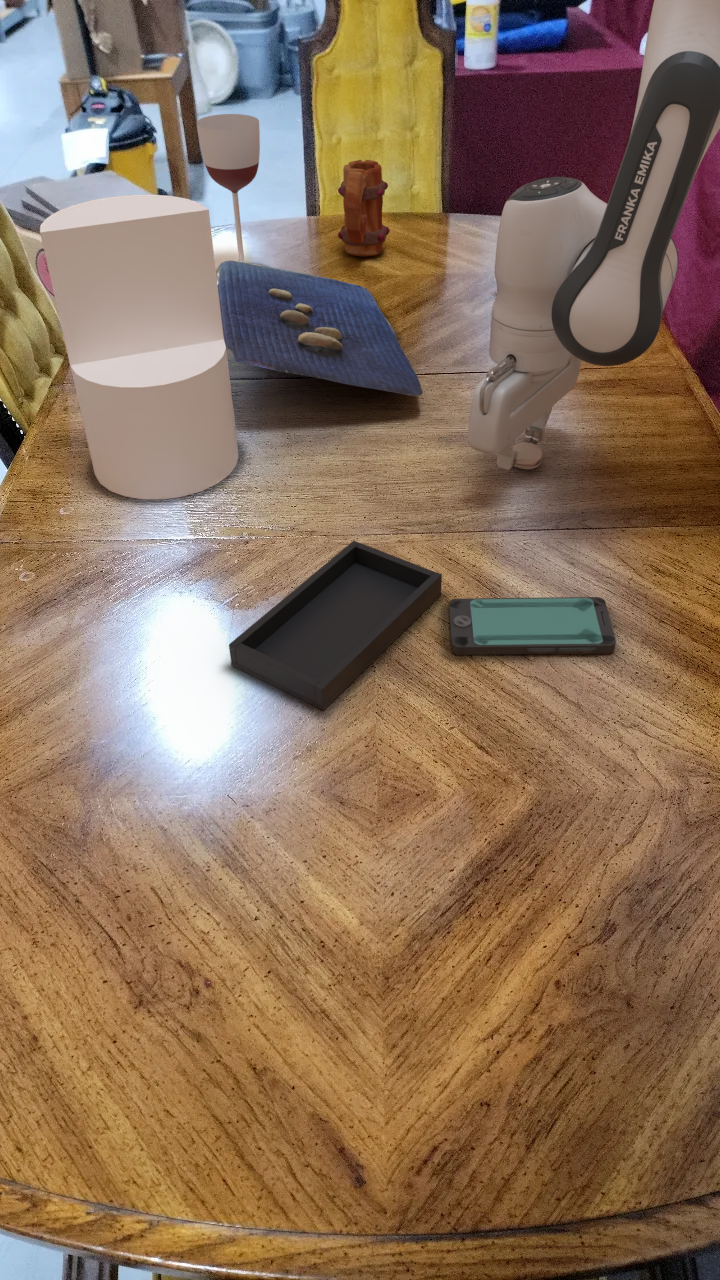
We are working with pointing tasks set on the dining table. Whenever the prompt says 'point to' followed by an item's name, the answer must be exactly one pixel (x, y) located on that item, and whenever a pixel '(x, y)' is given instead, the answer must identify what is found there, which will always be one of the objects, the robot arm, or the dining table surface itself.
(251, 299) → the mat
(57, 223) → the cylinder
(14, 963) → the dining table surface
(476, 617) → the smartphone
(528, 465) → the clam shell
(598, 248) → the robot arm
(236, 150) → the wineglass
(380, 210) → the mug
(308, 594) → the tray
